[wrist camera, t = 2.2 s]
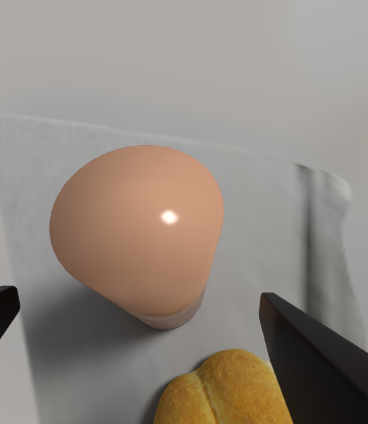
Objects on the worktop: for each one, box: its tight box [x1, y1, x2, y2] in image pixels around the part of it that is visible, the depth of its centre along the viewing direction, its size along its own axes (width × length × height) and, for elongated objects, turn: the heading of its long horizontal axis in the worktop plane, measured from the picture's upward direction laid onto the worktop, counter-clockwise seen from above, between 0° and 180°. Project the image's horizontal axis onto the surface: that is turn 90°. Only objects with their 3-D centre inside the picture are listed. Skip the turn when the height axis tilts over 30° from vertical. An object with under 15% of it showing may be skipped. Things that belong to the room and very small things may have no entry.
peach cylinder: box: [49, 145, 224, 330], centre depth 13 cm, size 6×6×12 cm
